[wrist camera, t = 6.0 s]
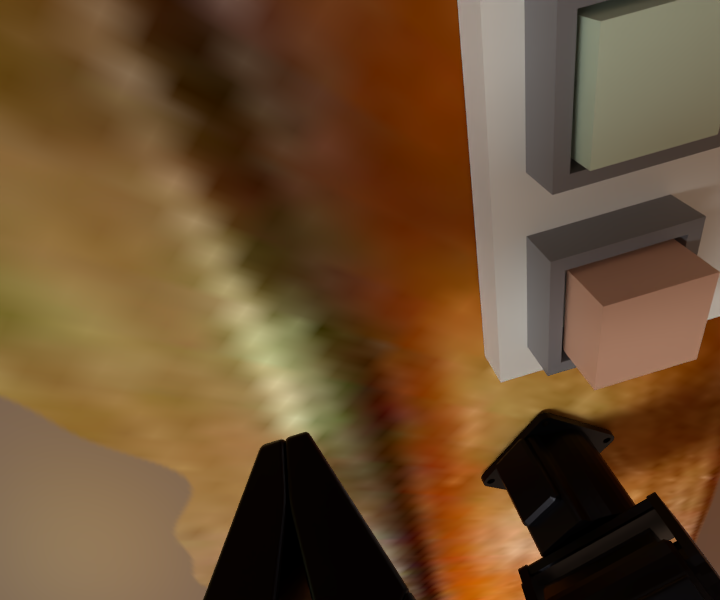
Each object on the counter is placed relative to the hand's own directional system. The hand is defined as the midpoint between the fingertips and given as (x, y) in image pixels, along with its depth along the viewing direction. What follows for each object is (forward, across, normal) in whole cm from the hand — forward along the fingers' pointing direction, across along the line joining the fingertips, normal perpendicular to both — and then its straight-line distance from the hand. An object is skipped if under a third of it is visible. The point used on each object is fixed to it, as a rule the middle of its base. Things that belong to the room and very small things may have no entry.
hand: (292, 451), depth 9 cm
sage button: (+11, -13, -1) cm, 17 cm away
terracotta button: (+9, -13, +8) cm, 18 cm away
